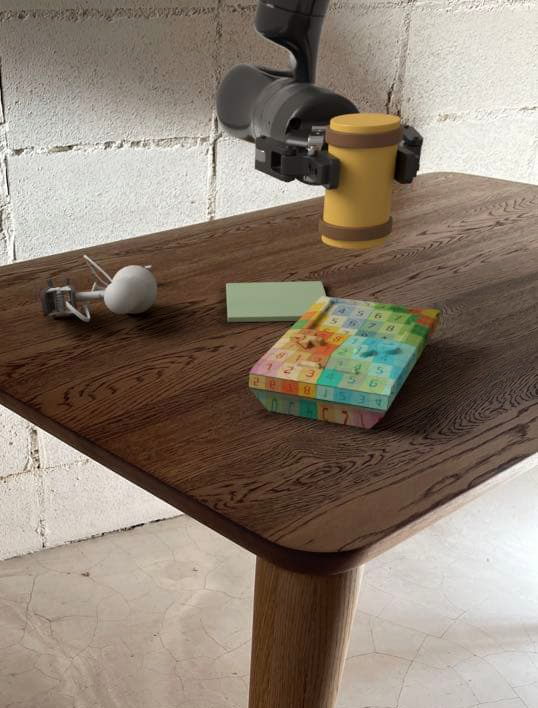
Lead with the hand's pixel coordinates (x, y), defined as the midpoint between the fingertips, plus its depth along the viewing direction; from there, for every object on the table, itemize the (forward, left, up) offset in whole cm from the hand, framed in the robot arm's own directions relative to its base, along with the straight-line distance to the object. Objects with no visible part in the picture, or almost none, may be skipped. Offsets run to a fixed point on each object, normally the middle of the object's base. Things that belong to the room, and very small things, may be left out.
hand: (372, 172), depth 66 cm
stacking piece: (0, -3, -6) cm, 6 cm away
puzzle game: (0, -4, -19) cm, 19 cm away
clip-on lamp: (+24, -23, -19) cm, 38 cm away
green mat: (+5, -24, -19) cm, 31 cm away
